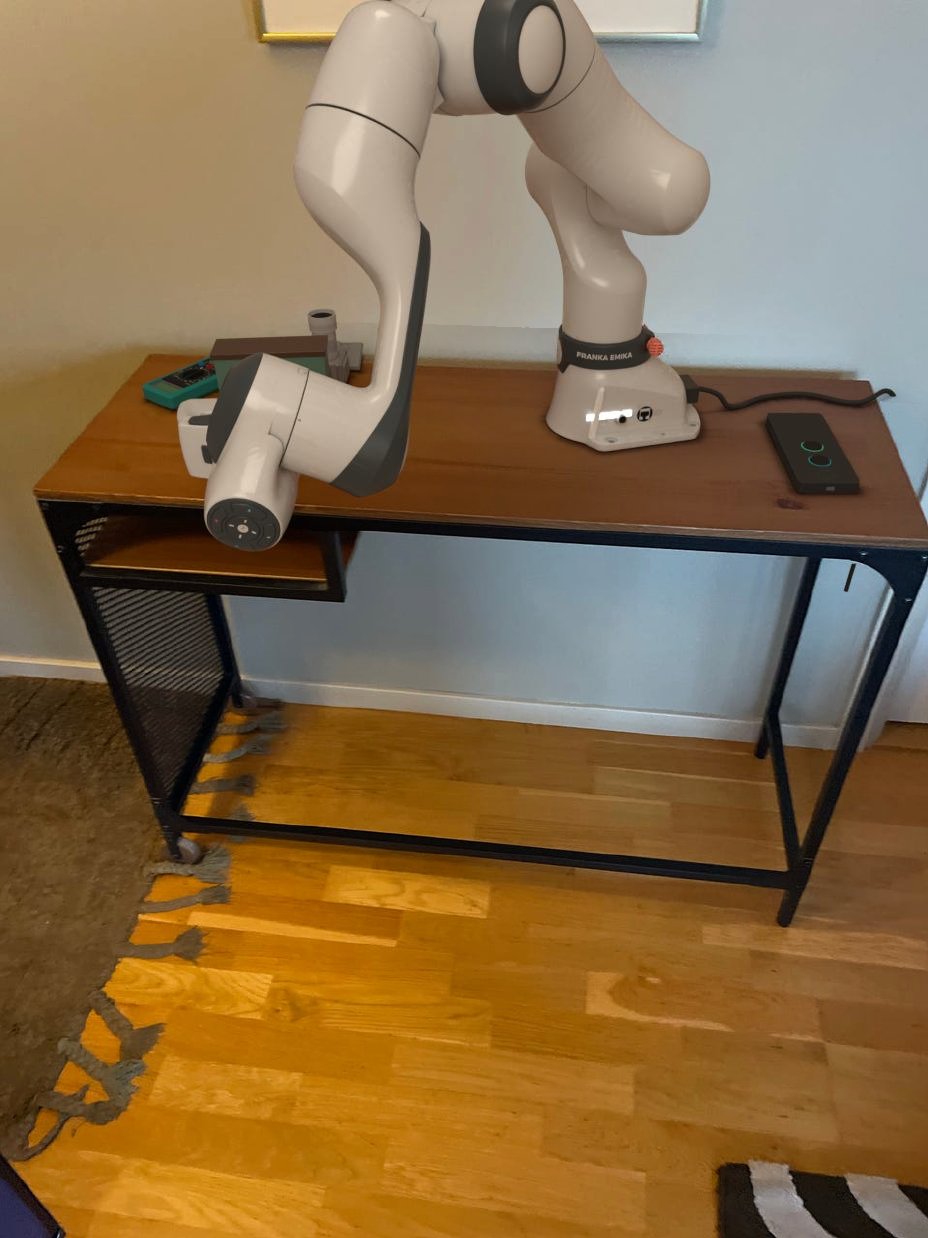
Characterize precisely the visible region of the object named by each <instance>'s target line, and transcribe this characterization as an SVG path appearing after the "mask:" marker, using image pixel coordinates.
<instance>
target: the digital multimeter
mask: <svg viewBox="0 0 928 1238" xmlns="http://www.w3.org/2000/svg"><path fill="white" fill-rule="evenodd" d="M141 388H142V393H143V397H144V398H145V399H146V400H148V401H150V402H152V403H155V404H156V405H159V406H162V407H165V408H166V409H170V410H173V411H175V410H178V408H179V405H180V404H181V403H182V402H184V401H186V400H189V399H202V398H203V397H206V396H208V395H210V394H212V393H214V392H216V391H219V386H218V381H217V376H216V371H215V366H214V361H213V360H210V355H208V356H207V357H205V358H202V359H200V360H198V361H195V362H193V363H191V364H189V365H187V366H185V367H182V368H179V369H176V370H175V371H173V372H169V373H167V374H165V375H163V376H159V377H157V378H155V379H153V380H150V381H147V382H145V384H143V385H142V386H141Z"/></svg>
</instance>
